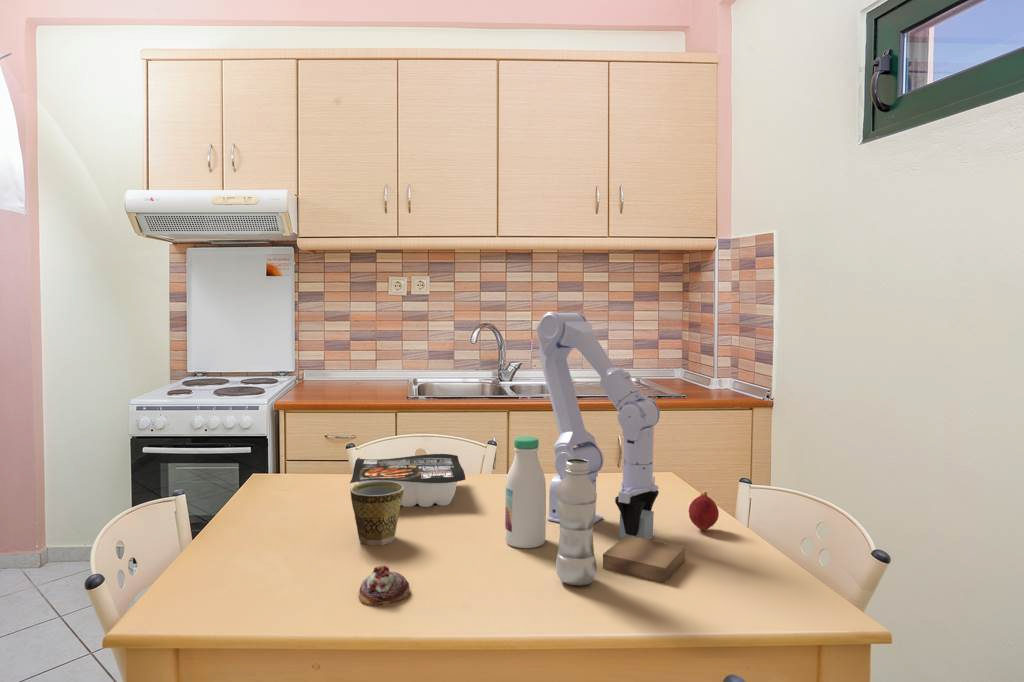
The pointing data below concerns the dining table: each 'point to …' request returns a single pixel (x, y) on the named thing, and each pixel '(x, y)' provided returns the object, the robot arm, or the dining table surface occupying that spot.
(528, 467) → the milk bottle
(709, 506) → the onion
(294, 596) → the dining table surface
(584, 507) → the plastic bottle
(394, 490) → the ceramic cup
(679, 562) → the base
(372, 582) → the pastry
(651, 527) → the cube
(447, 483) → the food packaging
